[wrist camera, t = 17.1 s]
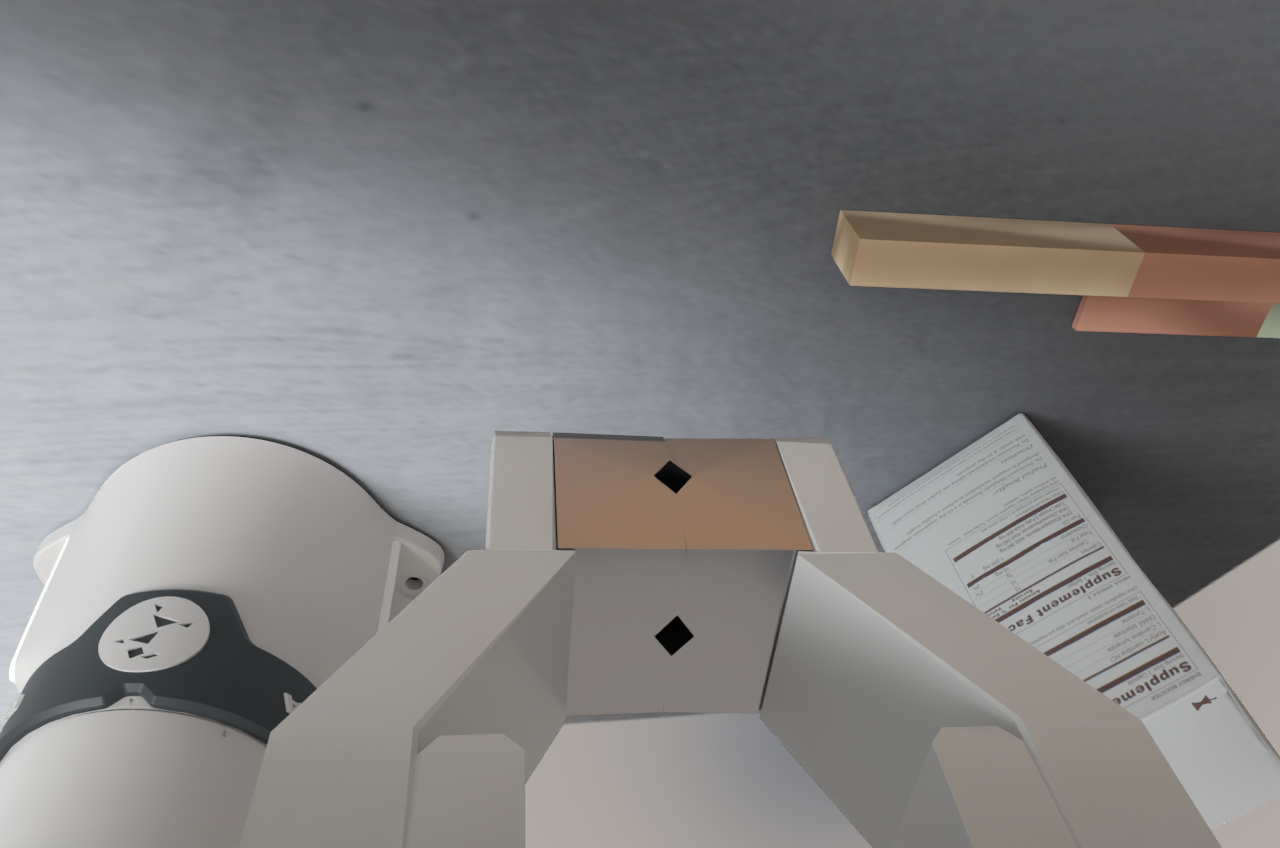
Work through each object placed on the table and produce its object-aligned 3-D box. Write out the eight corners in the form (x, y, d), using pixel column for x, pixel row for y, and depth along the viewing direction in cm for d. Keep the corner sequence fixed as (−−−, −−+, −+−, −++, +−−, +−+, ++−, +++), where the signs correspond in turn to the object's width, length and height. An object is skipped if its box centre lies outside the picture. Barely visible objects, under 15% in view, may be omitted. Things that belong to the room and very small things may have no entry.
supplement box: (860, 509, 51) (986, 795, 37) (1020, 405, 48) (1222, 672, 34) (951, 606, 55) (1094, 894, 41) (1102, 517, 52) (1309, 792, 38)
